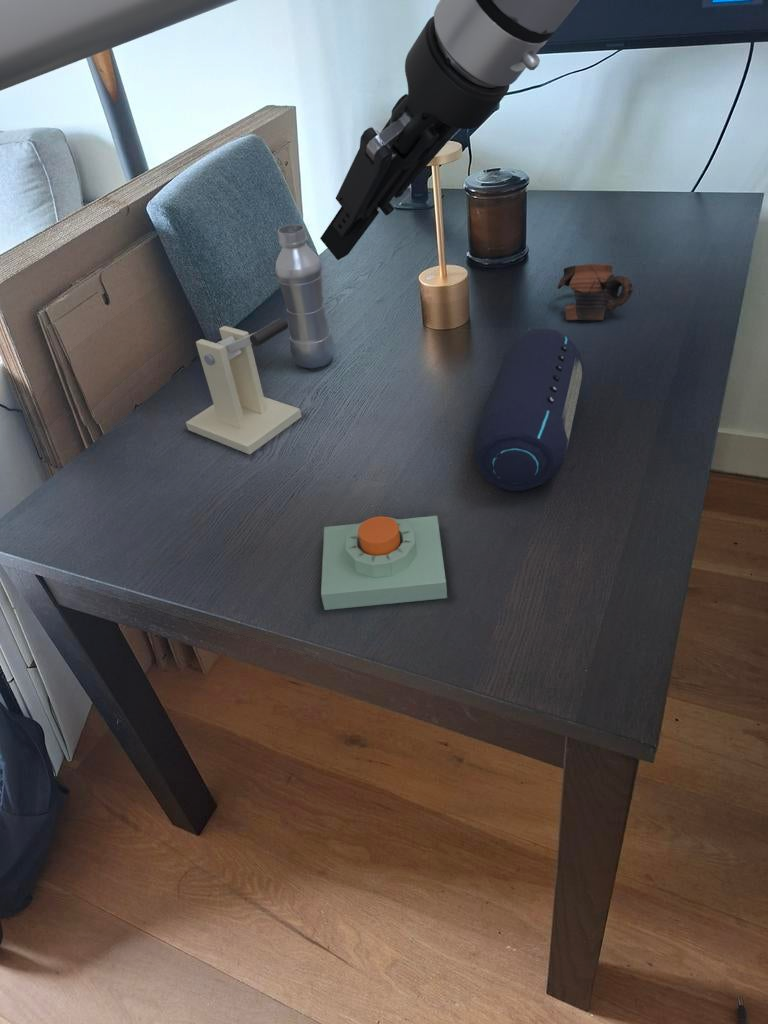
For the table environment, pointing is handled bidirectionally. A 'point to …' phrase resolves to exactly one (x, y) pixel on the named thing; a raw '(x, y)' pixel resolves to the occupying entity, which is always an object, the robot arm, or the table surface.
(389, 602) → the button block
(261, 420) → the bracket
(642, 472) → the table surface
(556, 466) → the portable speaker
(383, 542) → the button
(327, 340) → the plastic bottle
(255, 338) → the lever
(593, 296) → the pottery mug
